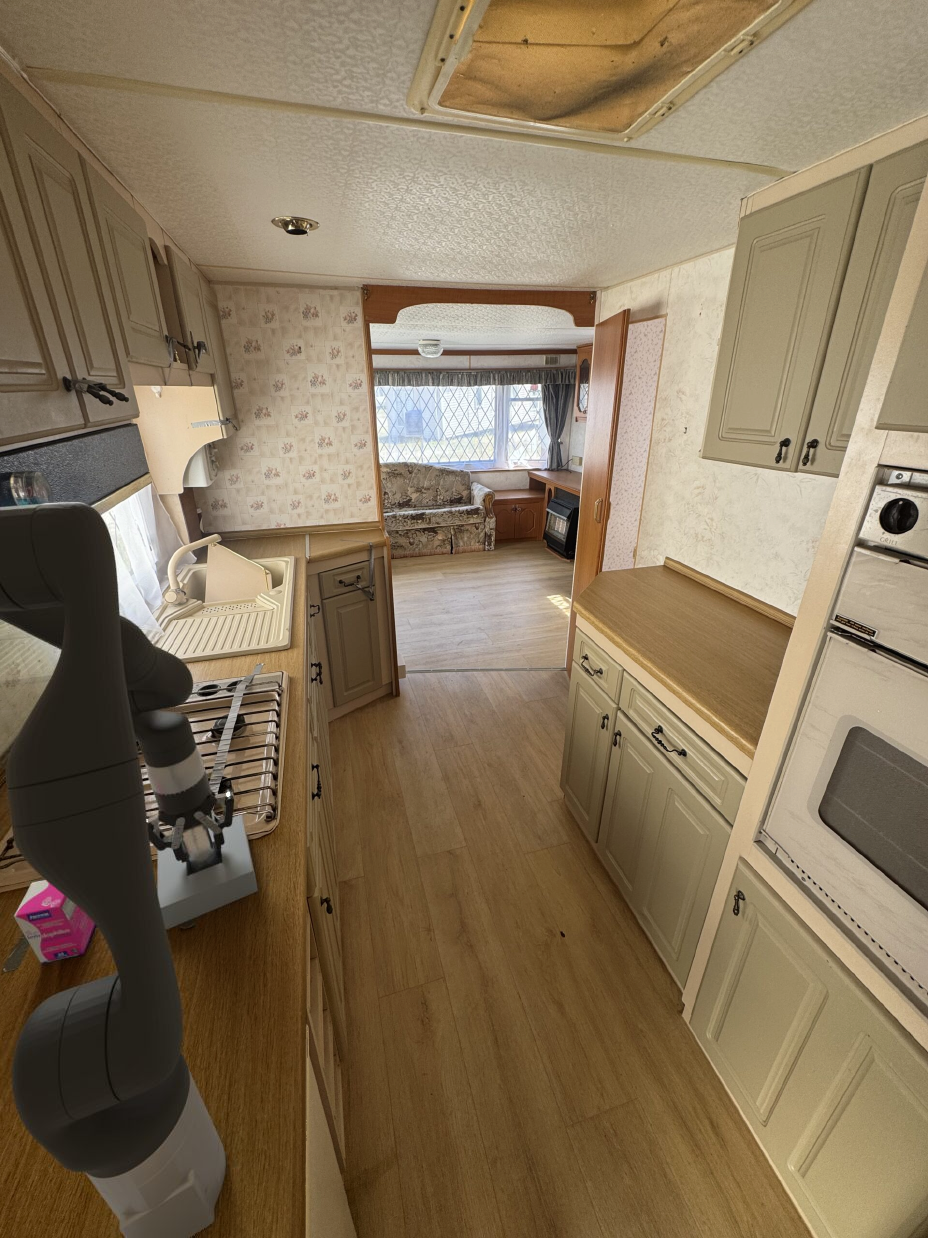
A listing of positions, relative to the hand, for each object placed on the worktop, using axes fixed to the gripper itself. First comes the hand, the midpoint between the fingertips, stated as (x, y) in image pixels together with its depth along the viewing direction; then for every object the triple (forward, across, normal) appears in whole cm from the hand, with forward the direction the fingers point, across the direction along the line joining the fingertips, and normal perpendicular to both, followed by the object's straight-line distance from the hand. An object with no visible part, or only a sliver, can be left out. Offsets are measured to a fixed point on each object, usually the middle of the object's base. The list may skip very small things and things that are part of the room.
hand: (202, 851), depth 86 cm
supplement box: (+7, -20, -2) cm, 21 cm away
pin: (+5, 0, 0) cm, 5 cm away
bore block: (+6, 0, 0) cm, 6 cm away
